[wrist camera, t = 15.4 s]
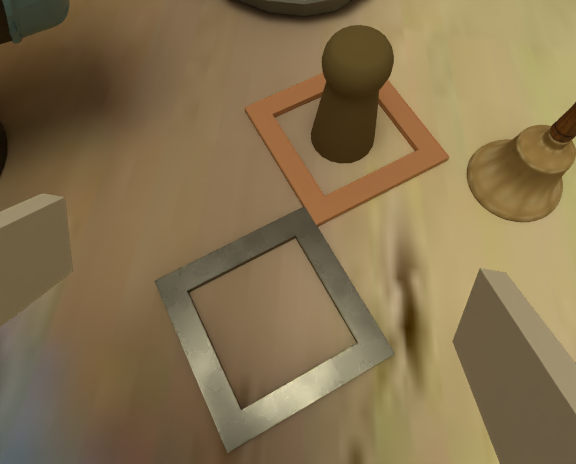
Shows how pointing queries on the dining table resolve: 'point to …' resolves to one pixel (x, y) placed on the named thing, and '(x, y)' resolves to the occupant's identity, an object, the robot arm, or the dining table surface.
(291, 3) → the pie
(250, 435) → the frame
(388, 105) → the frame
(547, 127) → the hand bell
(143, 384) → the dining table surface
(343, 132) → the cork
